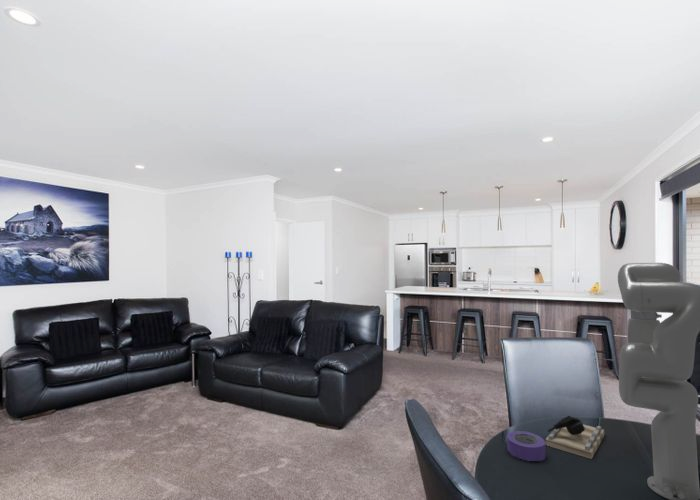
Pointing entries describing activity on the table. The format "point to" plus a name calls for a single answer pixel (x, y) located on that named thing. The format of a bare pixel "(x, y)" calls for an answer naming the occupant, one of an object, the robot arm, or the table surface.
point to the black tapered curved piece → (570, 426)
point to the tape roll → (526, 446)
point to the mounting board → (576, 441)
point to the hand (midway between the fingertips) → (646, 365)
